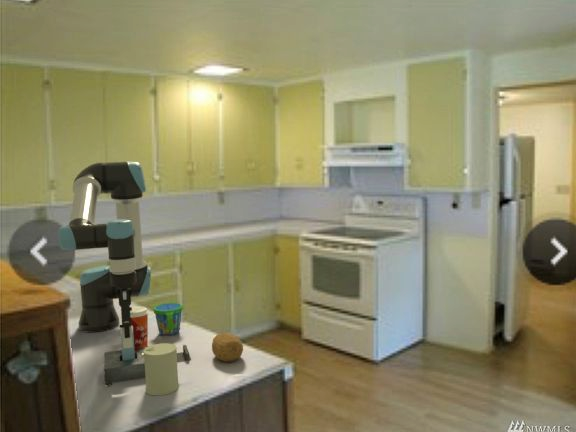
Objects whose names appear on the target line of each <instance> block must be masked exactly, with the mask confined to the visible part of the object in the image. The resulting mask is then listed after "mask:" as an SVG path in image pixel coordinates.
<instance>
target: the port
mask: <svg viewBox="0 0 576 432" xmlns="http://www.w3.org/2000/svg"><path fill="white" fill-rule="evenodd" d="M149 346H150V345H149ZM149 346H147V347H149ZM147 347H140V348H134V351H135V359H132V360H125V361H123V360H122V349H120V350H119V349H118V350H112V351H105V352H104V354H103V355H104V359H103V377H104V386H105V387H106V386H107V385H108V386H112V385H113V384H114V383H121V382H126V381H133V380H140V379H146V377H145V362H144V352H143V351H144V349H145V348H147ZM108 386H107V387H108Z"/></svg>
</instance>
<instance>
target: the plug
mask: <svg viewBox="0 0 576 432" xmlns="http://www.w3.org/2000/svg"><path fill="white" fill-rule="evenodd" d="M119 329H120V343H121V344H120V345H121V350H122V360H123V361H125V360H132V359H135V351H134V336H133V326H132V341H133V347H132V348H125V349H123V338H122V328H120V327H119Z"/></svg>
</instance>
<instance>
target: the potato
mask: <svg viewBox="0 0 576 432" xmlns="http://www.w3.org/2000/svg"><path fill="white" fill-rule="evenodd" d="M211 350H212V353H213V355H214V356H215V357H216V358H217V359H218V360H220V361H223V362H228V363H230V362H234V361H235V362H236V361H237V360H238V359H239V358H240V357H241V356H242V355H243V352H244V345H243V343H242V341H241V339H240V338H239V337H238V336H237V335H234V334H231V333H228V332H221V333H218V334H216V335H215V336H214V338H213V339H212V343H211Z"/></svg>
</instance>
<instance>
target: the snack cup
mask: <svg viewBox="0 0 576 432" xmlns="http://www.w3.org/2000/svg"><path fill="white" fill-rule="evenodd" d="M183 309H184V308H183V304H182V303H178V302H167V303H165V302H164V303H160V304H157V305H156V306H154V307H153V312H154V314H155V320H156V321H155V322H156V324H157V329H158V330H157V331H158V332H159V334H160V335H161V336H165V337H166V336H172V335H173V336H174V335H176V334H178V333H180V330H181V322H182V321H181V320H182V312H183Z"/></svg>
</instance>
